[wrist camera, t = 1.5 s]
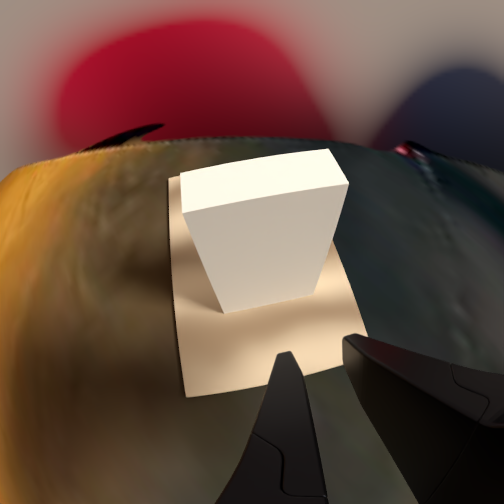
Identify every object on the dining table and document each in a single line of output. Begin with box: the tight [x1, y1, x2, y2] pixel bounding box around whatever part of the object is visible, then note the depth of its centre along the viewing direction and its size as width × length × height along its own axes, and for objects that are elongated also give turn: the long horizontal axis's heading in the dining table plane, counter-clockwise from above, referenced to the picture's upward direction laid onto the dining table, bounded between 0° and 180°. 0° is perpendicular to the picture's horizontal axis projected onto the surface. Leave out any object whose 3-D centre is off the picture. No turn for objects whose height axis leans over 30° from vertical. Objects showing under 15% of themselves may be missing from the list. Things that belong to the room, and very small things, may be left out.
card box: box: [180, 149, 349, 314], centre depth 17 cm, size 2×7×12 cm, turn 102°
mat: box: [169, 176, 368, 397], centre depth 24 cm, size 22×14×1 cm, turn 11°
